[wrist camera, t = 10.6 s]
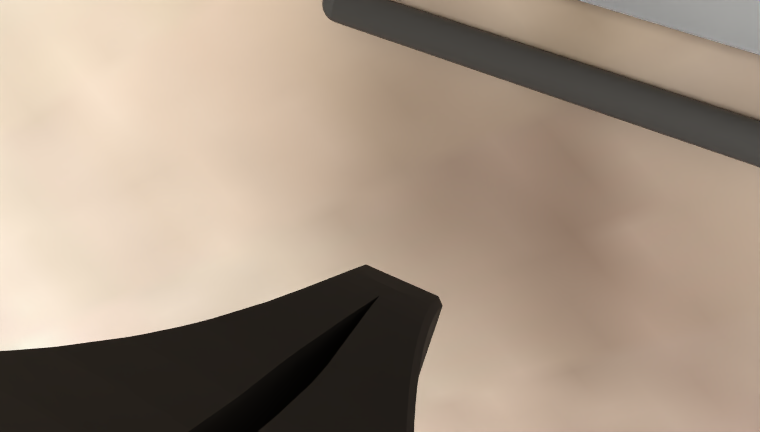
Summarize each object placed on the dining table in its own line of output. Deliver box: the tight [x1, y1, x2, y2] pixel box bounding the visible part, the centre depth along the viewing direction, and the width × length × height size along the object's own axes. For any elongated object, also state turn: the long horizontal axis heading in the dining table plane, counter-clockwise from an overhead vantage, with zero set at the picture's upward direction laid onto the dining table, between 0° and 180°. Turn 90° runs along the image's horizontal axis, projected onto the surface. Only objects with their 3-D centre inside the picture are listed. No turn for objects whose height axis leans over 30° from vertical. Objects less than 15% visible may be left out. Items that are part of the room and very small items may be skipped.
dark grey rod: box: [322, 0, 760, 167], centre depth 17 cm, size 21×1×1 cm, turn 76°
